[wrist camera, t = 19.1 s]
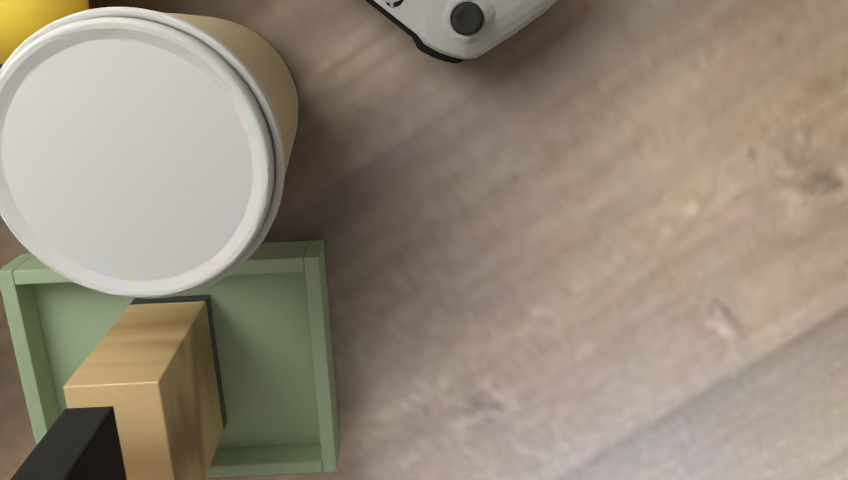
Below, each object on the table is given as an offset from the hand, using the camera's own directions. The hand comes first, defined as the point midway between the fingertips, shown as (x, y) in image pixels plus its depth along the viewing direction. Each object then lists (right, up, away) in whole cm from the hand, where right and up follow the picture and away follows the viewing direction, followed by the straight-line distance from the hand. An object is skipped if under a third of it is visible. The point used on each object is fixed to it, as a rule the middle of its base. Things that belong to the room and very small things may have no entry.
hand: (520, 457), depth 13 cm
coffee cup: (-11, +10, +23) cm, 27 cm away
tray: (-13, -2, +26) cm, 30 cm away
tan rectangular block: (-13, -2, +26) cm, 29 cm away
